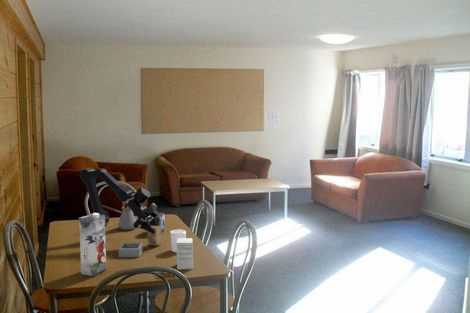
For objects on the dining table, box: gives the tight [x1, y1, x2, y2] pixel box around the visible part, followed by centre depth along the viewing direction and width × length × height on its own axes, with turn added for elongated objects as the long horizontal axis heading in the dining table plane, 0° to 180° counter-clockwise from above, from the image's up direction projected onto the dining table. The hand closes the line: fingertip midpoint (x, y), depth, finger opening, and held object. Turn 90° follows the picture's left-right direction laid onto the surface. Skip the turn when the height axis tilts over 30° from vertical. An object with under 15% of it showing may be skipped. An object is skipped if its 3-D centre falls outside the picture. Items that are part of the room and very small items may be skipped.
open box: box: [118, 242, 144, 258], centre depth 249 cm, size 10×10×4 cm
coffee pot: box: [101, 204, 137, 231], centre depth 293 cm, size 21×12×15 cm, turn 105°
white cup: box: [169, 228, 187, 253], centre depth 254 cm, size 8×8×10 cm
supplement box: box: [176, 237, 194, 270], centre depth 230 cm, size 7×7×13 cm
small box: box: [156, 212, 166, 234], centre depth 287 cm, size 11×6×10 cm, turn 169°
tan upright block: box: [147, 225, 162, 246], centre depth 262 cm, size 5×5×9 cm
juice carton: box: [78, 213, 107, 277], centre depth 221 cm, size 9×10×27 cm
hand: (156, 231), depth 261 cm, fingers closed on tan upright block, 5 cm apart
